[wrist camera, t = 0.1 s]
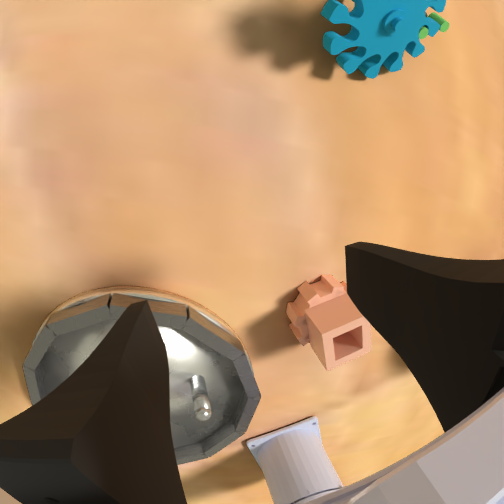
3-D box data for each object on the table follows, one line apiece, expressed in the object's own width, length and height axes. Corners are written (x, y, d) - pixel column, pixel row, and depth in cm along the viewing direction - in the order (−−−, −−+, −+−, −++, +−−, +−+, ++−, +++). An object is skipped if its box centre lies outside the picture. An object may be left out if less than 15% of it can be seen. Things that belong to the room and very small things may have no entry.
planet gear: (350, 319, 26) (381, 354, 21) (292, 343, 25) (316, 384, 21) (345, 265, 24) (381, 296, 19) (280, 290, 23) (306, 328, 18)
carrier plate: (271, 416, 28) (287, 456, 24) (106, 457, 26) (104, 495, 21) (211, 248, 20) (223, 285, 16) (-6, 324, 18) (-31, 364, 13)
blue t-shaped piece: (315, 88, 17) (363, -61, 7) (270, 42, 18) (295, -81, 9) (425, 83, 19) (476, -11, 10) (380, 42, 21) (416, -46, 12)
